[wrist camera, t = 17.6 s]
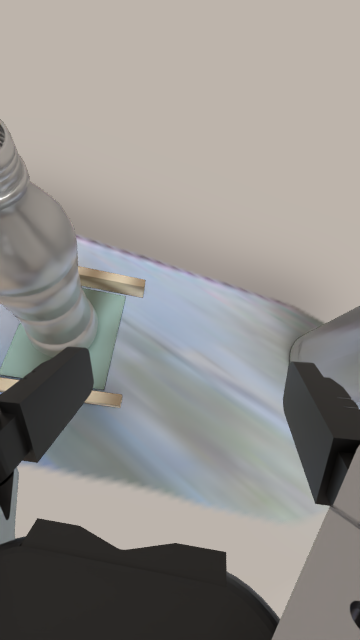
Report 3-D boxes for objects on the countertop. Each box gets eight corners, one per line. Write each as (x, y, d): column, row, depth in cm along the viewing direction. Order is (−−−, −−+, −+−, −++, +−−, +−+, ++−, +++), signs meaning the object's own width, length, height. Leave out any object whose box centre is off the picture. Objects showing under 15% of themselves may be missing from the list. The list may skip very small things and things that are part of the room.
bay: (144, 290, 31) (146, 272, 27) (120, 407, 25) (119, 404, 21) (-68, 248, 28) (-97, 221, 24) (-153, 371, 22) (-208, 359, 18)
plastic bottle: (33, 366, 25) (-218, 198, 7) (38, 305, 27) (-132, 65, 9) (100, 360, 26) (46, 212, 8) (100, 303, 29) (56, 94, 11)
